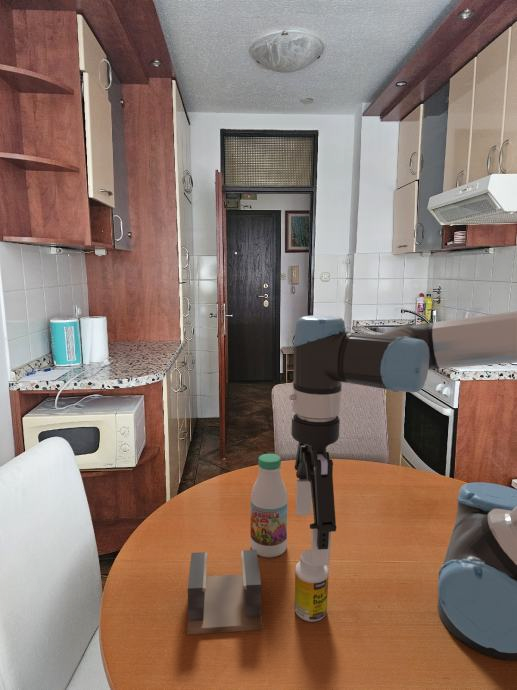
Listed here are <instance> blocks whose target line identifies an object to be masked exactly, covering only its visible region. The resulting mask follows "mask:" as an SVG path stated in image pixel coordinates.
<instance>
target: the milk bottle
mask: <svg viewBox="0 0 517 690" xmlns="http://www.w3.org/2000/svg"><path fill="white" fill-rule="evenodd" d="M257 464H258V466H257V467H258V469H259V470H258V475H257V478H256V480H255V482H254V484H253V486H252V490H251V494H250V495H251V496H250V530H249V531H250V535H249V536H250V549H251V550H257V556H260V557H264V558H274V557H275V558H276V557H278V556H281V555H283V554H284V552H285V551H286V550H287V547H288V519H289V518H288V516H289V515H288V510H289V509H288V508H289V506H288V505H289V503H288V501H289V500H288V492H287V488H286V485H285V483H284V481H283V478H282V476H281V472H280V470H281V468H282V466H281V465H282V459H281V456H280V455H278V454H276V453H264V454H261V455H260V456H258V461H257Z"/></svg>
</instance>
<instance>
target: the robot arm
mask: <svg viewBox="0 0 517 690" xmlns="http://www.w3.org/2000/svg"><path fill="white" fill-rule="evenodd" d="M294 328H295V329H294V339H293V344H292V347H293V382H292V387H293V388H292V391H293V393H289V395H288V399H289V400H290V401H292V409H291V410H292V411H293V414H291V415H292V416H291V436H292V439H294V441H296V442H298V445H297V448H296V449H297V451H296V457H295V463H294V470H295V471H296V473H295V476H296V491H295V492H296V493H295V495H296V496H295V516H311V515H312V513H313V523H310V524H309V529H310V530H311V543H310V544H311V547H310V550H311V566H324V565H326V566H330V562H331V559H330V558H331V539H332V538H331V537H332V532H337V521H336V509H335V507H336V506H335V493H334V479H333V478H334V477H333V469H334V467H333V466H334V462H333V460H332V459H331V458H330V453H329V451H327V447H328V446H330V445H331V444H335V443H336V442H337V441H338V440H339V438H340V427H341V426H340V423H341V422H340V421H341V419H340V417H339V415H340V414H341V412H342V391H343V390H342V389H343V388H342V383H347V384H352V385H358V386H364V387H371V388H376V389H377V388H378V389H384V390H389V391H392V392H394V393H395V392H402V393H403V392H406V393H418V392H420V391H421V390H422V389H423V388H424V386H425V384H426V381H427V377H428V373H429V371H431V370H437V369H438V370H439V369H448V368H462V367H475V366H477V367H478V366H489V365H490V366H492V365H502V364H503V365H504V364H517V311H516V310H515V311H510V312H509V311H508V312H501V313H494V314H486V315H485V314H484V315H478V316H473V317H472V316H471V317H464V318H455V319H448V320H441V321H434V322H429V323H428V322H427V323H418V324H415V323H406V324H400V325H397V326H395V327H394V328H391V329H390V330H388V331H385V332H382V333H381V334H373V333H356V332H352V331H346V327H345V320H344V319H343V318H342V317H340V316H333V315H305V316H302V317H300V318H298V320H296V323H295V327H294ZM456 501H457V508H456V509H457V510H456V517H455V522H454V526H453V529H452V533H451V536H450V539H449V543H448V546H447V549H446V553H445V557H444V560H443V563H442V565H441V567H440V569H439V572H438V585H437V593H438V598H437V612H438V616H439V618H440V620H441V622H442V624H443V625H444V626H445V627H446V629H447V630H448V631H449V632H450V633H451V634H452V635H453V636H454V638H456V639H457V640H459V641H460V642H461V643H462V644H464V645H466V646H468V647H469V648H471V649H472V650H475V651H477V652H478V653H481V654H482V655H485V656H489V657H491V658H495V659H499V660H504V661H505V660H506V661H507V660H508V661H517V489H516V488H512V487H509V486H505V485H503V484H498V483H497V484H496V483H491V482H480V481H479V482H476V481H475V482H469V483H465V484H463V485H461V486H460V488H459V490H458V497H456Z"/></svg>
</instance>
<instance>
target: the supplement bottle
mask: <svg viewBox="0 0 517 690" xmlns="http://www.w3.org/2000/svg"><path fill="white" fill-rule="evenodd" d="M294 569H295V570H294V572H295V573H294V575H295V576H294V612H295V613H296V615H297V616H298V617H299V618H300V619H302V620H304V621H306V622H311V623H313V622H318V621H322V620H323V619H324V618H325V616H326V615H327V611H328V596H329V595H328V594H329V593H328V592H329V591H328V590H329V588H328V587H329V568H328V565H324V566H311V549H307V550H304V551H302V552H301V554H300V559H299V561H298V562H297V563H296V565H295V568H294Z"/></svg>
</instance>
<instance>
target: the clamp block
mask: <svg viewBox="0 0 517 690" xmlns="http://www.w3.org/2000/svg"><path fill="white" fill-rule="evenodd" d="M240 556H241V571H242V572H241V574H222V575H221V574H220V575H207V573H208V572H207V571H208V552H205V551H203V552H202V551H200V552H191V553H190V563H189V565H190V566H189V573H188V574H189V575H188V583H187V609H188V611H187V612H188V613H187V615H188V616H187V625H186V626H187V627H186V634H187V635H198V634H199V635H200V634H201V635H202V634H203V635H204V634H215V633H216V634H218V633H230V632H231V633H233V632H245V631H246V632H247V631H249V632H250V631H262V630H263V618H262V581H261V573H260V567H259V558H258V556H259V555H257V550H252V549H244V550H241V551H240Z"/></svg>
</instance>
